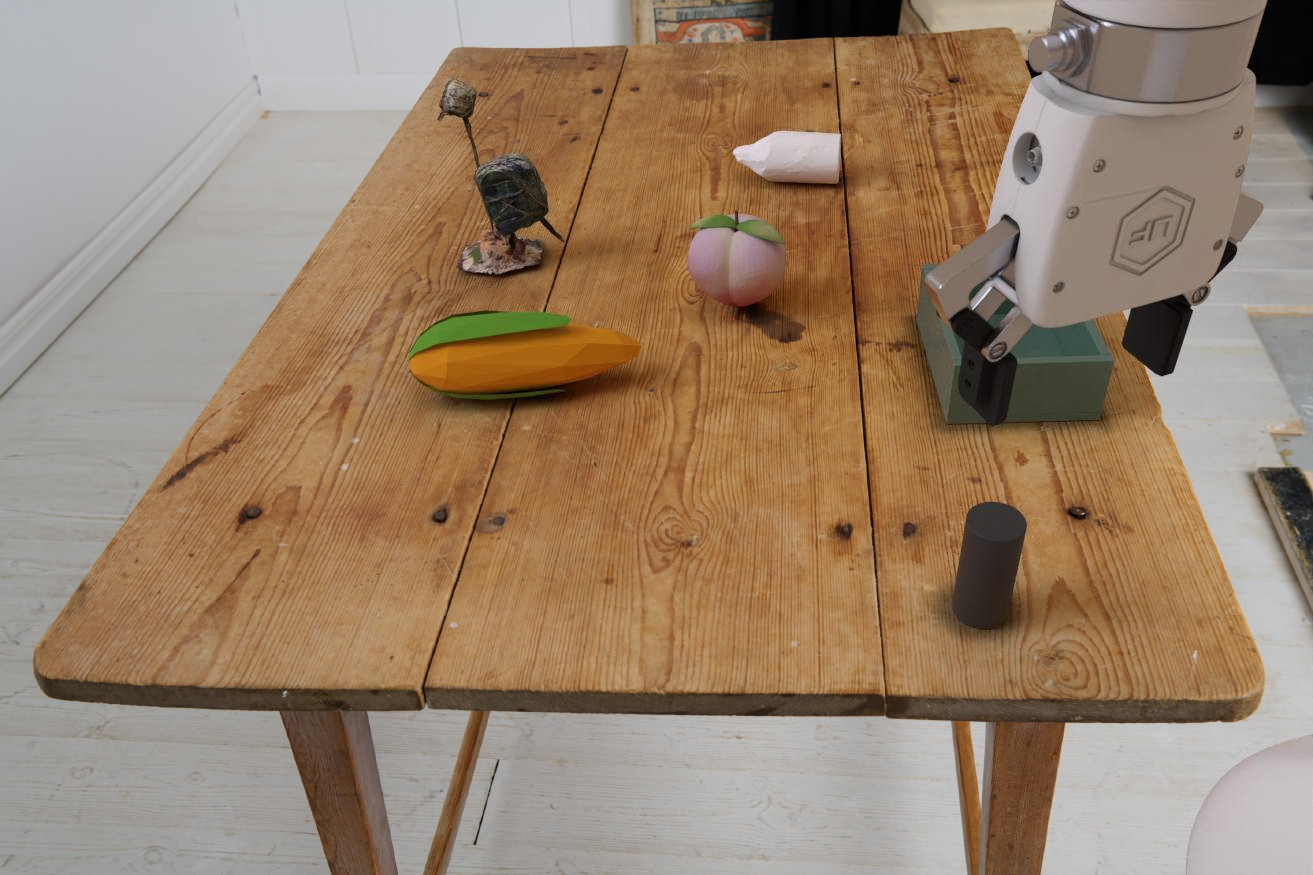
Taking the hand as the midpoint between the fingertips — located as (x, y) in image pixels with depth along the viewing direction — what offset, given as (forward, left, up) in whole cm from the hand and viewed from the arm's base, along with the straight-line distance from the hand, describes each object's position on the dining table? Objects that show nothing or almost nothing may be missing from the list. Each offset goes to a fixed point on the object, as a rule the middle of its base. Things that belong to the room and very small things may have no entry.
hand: (1064, 384), depth 53 cm
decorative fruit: (+43, -17, -22) cm, 51 cm away
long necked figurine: (+66, -6, -22) cm, 70 cm away
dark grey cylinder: (+4, -2, -22) cm, 22 cm away
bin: (+20, -26, -22) cm, 39 cm away
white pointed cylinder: (+59, -39, -22) cm, 74 cm away
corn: (+46, +5, -22) cm, 51 cm away
